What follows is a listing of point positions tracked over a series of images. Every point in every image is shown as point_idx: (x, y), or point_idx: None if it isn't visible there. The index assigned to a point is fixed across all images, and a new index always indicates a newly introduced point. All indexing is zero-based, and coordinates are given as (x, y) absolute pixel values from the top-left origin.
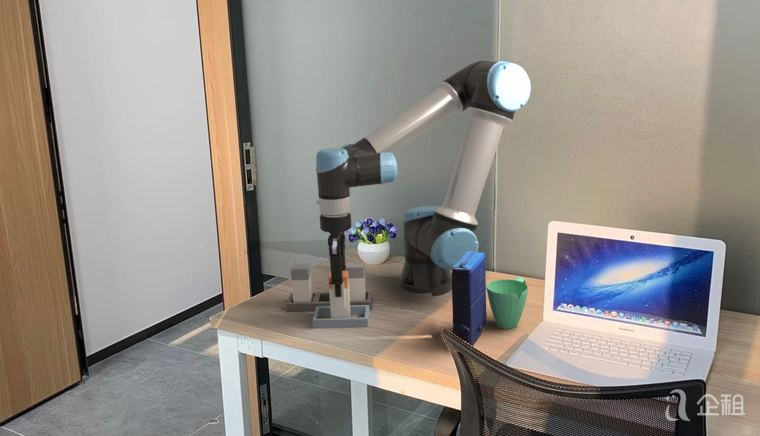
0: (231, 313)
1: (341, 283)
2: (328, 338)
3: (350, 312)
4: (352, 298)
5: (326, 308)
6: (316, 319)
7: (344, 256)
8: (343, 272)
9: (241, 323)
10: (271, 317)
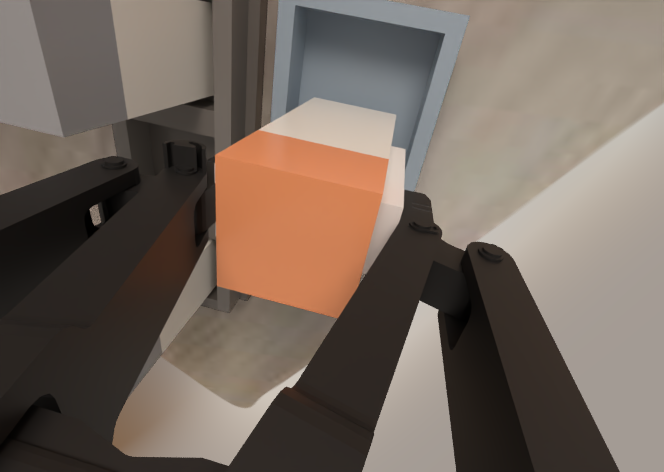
0: (223, 388)
1: (507, 255)
2: (466, 200)
3: (295, 93)
4: (199, 74)
5: None
6: None
7: (34, 211)
8: (259, 203)
9: (283, 381)
10: (257, 324)
